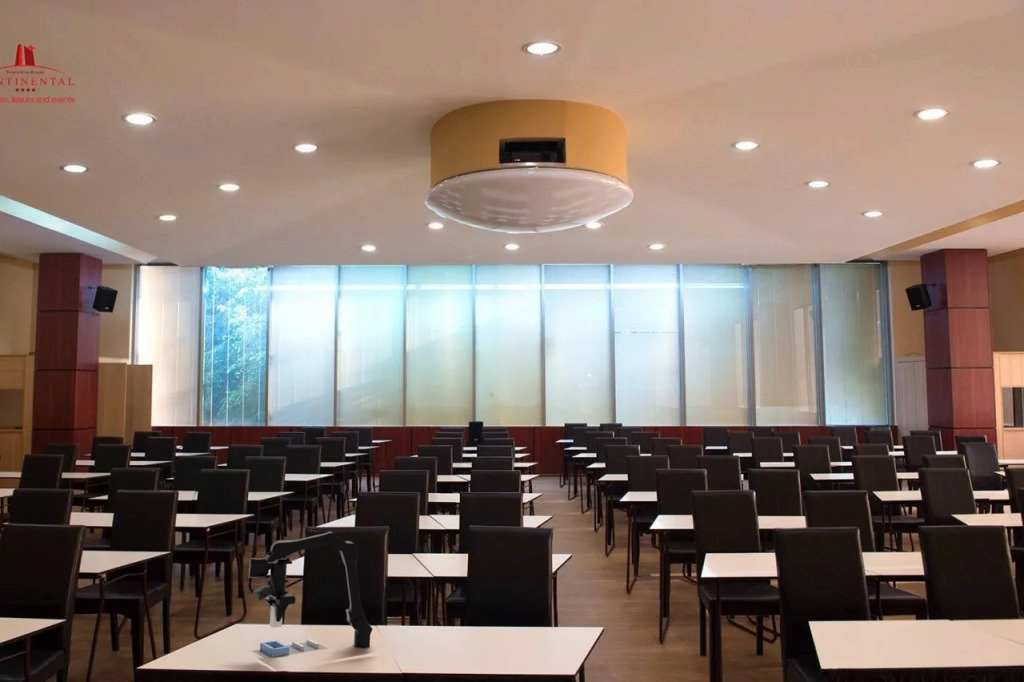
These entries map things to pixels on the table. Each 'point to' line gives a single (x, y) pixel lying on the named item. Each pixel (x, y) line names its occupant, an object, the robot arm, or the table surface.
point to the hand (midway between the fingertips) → (276, 620)
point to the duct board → (286, 648)
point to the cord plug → (274, 618)
